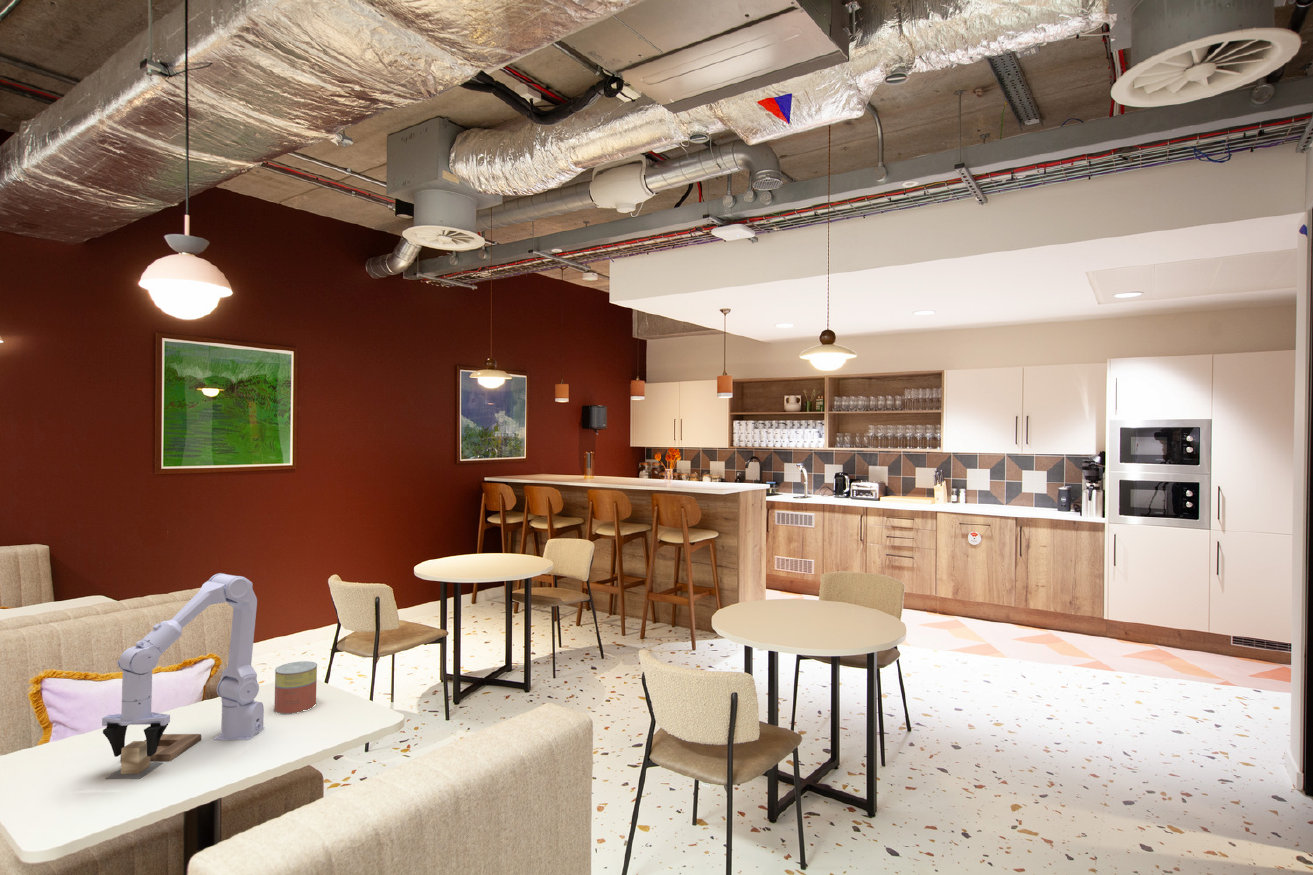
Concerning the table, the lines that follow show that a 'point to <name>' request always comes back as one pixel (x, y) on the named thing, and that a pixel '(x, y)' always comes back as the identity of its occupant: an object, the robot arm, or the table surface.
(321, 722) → the table surface
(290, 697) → the canned food
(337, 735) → the table surface
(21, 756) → the table surface
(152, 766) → the rubber mat
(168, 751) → the pocket block
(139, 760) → the birch peg
